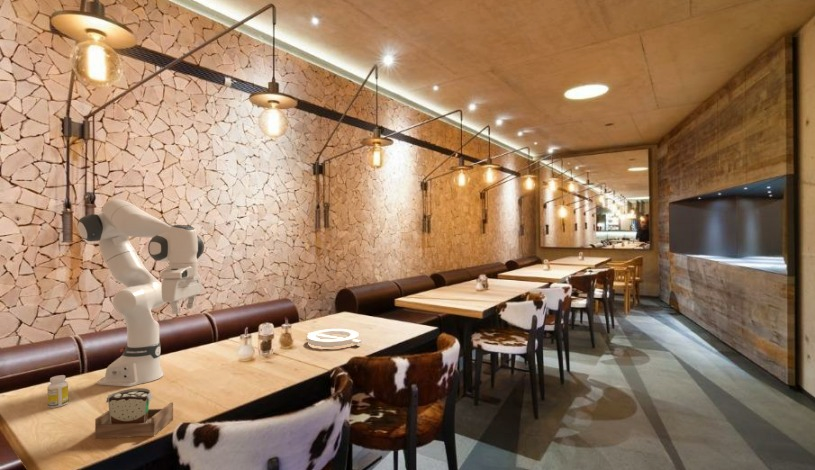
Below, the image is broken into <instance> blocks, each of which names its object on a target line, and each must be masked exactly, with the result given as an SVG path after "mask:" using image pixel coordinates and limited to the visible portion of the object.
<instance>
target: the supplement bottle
mask: <svg viewBox="0 0 815 470" xmlns="http://www.w3.org/2000/svg"><path fill="white" fill-rule="evenodd" d="M66 380H67V379H66V375H64V374H61V375H55V376H52V377H50V379H49V382H50V384H48V386H47V390H46V391H47V408H49V409H54V408H55V409H56V408H60V407H62V406H65V405H67V404H68V403H69V382H68V381H66Z"/></svg>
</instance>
